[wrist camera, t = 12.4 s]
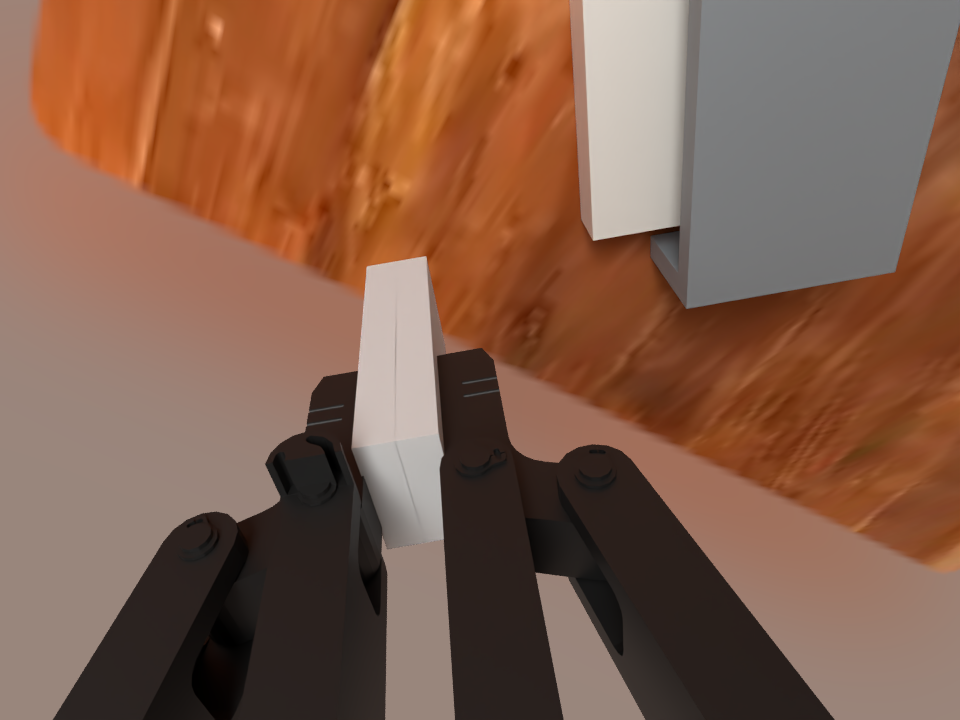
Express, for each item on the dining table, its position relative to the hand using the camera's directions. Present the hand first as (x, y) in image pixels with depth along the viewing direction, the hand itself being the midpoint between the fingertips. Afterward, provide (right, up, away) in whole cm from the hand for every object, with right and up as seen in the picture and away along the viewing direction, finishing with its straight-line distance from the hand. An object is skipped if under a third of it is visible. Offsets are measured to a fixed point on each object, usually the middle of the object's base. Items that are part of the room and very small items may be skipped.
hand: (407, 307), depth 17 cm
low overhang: (+17, +16, +19) cm, 30 cm away
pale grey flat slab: (+12, +15, +19) cm, 27 cm away
